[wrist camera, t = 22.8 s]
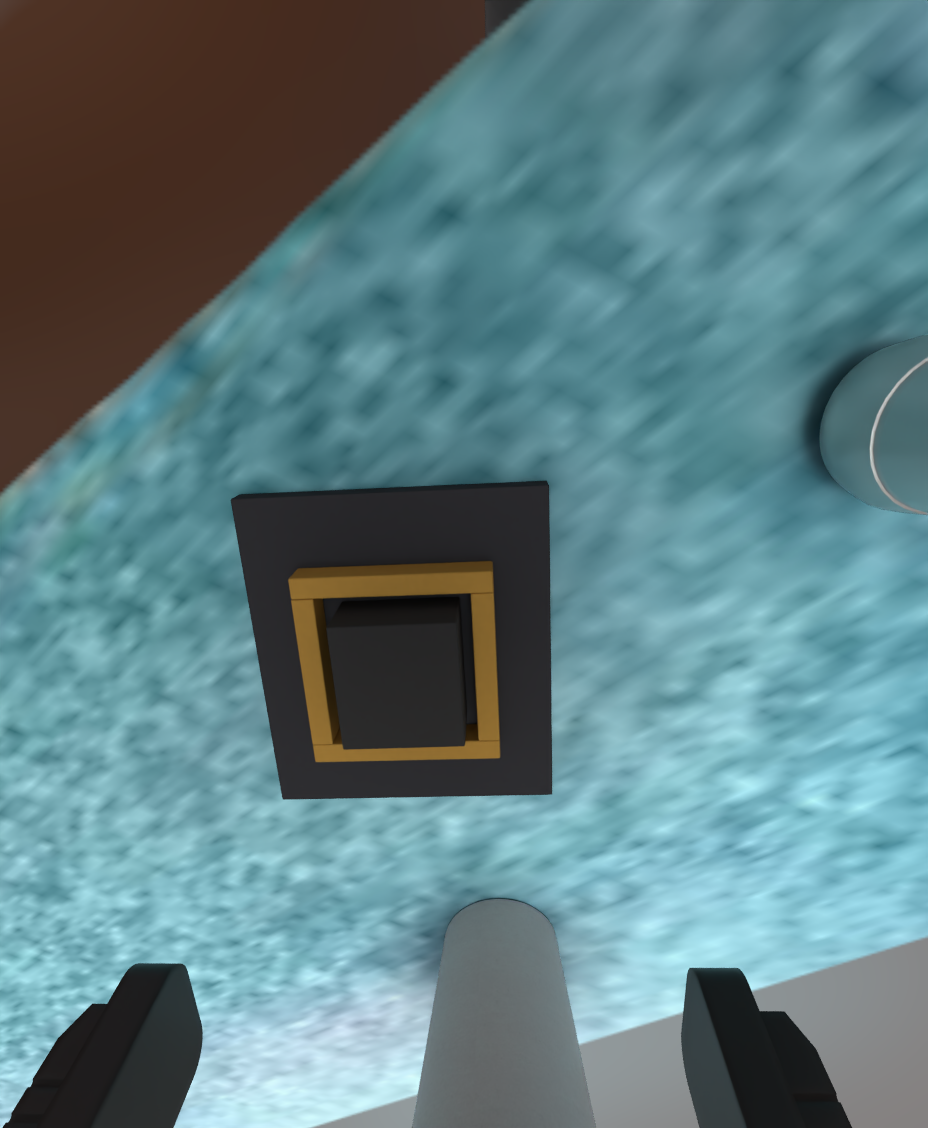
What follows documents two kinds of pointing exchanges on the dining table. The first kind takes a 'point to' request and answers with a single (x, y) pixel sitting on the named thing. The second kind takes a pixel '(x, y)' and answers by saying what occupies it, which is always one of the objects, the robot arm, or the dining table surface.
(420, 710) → the black block
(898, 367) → the plastic bottle
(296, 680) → the base pad
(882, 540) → the dining table surface
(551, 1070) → the coffee cup
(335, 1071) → the dining table surface
